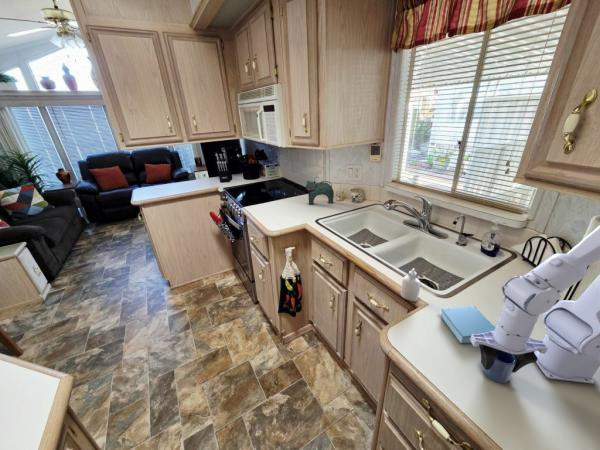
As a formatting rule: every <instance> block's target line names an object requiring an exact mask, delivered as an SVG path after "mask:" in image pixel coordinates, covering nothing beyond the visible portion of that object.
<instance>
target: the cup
mask: <svg viewBox="0 0 600 450" xmlns="http://www.w3.org/2000/svg"><path fill="white" fill-rule="evenodd" d="M494 349H495V348H494ZM494 351H495V353H496V355H497V357H498V358H496V359H495V360H494V361H493V362H492V363H491V366H490V368H489V369H488V370H486V369H484V367H483V366H482V371H483V373H484V374H485V375H486V376H487V377H488V378H489V379H490V380H492V381H494V382H496V383H499V384H506V383H508V381H510V378H511V377H512V374H513V373H512V372H513V369H514V367H515V365H516V363H517V359H516V357H515V355H514V354H511V353H508V352H504V351H501V350H498V349H495V350H494Z"/></svg>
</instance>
